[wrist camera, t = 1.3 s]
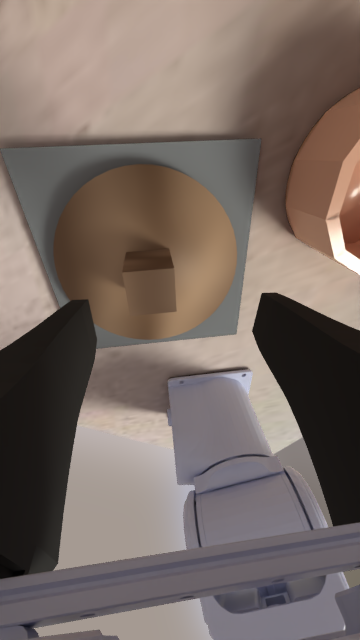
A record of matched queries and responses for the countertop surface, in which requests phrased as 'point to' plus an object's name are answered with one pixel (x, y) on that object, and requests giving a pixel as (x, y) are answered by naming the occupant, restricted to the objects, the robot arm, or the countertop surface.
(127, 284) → the lid
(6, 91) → the countertop surface
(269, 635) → the robot arm
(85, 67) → the countertop surface
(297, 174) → the bowl
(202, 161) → the mat
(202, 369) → the countertop surface
